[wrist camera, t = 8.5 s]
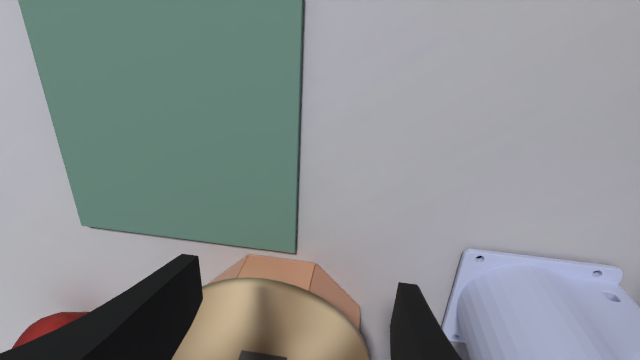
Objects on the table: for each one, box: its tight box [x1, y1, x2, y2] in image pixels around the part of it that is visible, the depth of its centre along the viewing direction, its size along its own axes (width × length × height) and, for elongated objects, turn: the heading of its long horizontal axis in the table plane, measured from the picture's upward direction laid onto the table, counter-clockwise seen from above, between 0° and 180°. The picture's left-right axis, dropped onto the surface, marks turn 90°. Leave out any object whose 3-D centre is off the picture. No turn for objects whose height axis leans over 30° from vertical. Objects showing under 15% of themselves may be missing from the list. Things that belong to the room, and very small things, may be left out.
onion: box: [12, 312, 89, 349], centre depth 27 cm, size 6×6×8 cm
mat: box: [18, 0, 304, 253], centre depth 22 cm, size 16×16×1 cm
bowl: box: [207, 254, 360, 331], centre depth 26 cm, size 12×12×4 cm
